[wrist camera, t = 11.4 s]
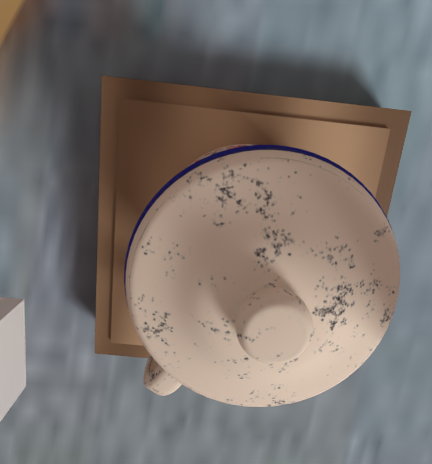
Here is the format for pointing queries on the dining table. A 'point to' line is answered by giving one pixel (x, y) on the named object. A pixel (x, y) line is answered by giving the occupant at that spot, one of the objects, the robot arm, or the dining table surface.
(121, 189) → the walnut base
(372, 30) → the dining table surface
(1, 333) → the robot arm
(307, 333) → the teacup with lid
